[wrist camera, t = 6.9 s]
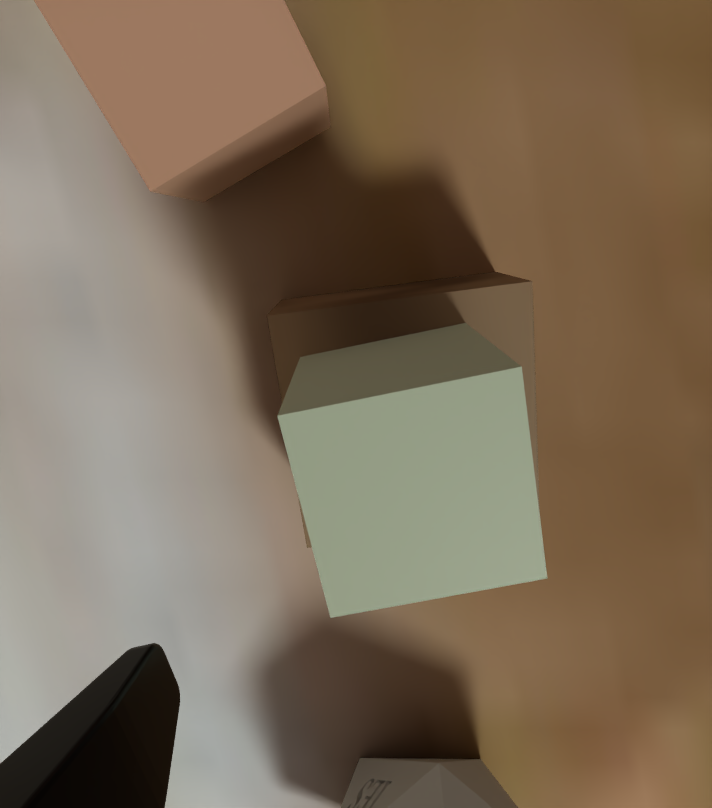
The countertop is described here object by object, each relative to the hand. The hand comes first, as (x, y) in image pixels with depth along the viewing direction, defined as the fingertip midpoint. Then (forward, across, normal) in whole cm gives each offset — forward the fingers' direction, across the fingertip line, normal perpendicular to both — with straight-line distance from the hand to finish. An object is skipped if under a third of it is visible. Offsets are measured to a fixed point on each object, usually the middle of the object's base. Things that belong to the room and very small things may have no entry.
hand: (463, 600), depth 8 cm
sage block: (+8, 0, 0) cm, 8 cm away
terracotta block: (+12, +3, -10) cm, 16 cm away
